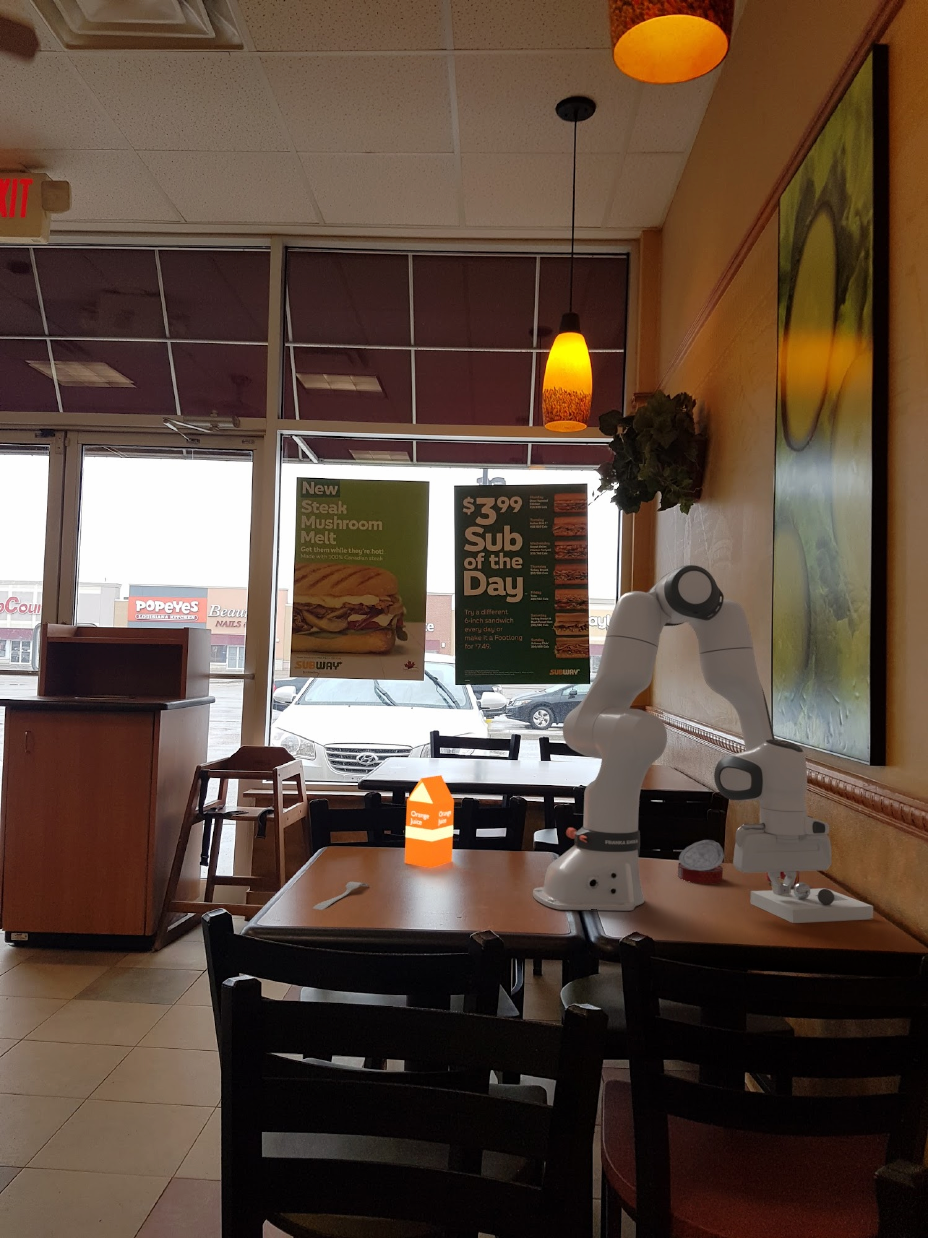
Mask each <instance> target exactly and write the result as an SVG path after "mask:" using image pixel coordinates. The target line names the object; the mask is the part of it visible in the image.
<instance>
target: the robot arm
mask: <svg viewBox="0 0 928 1238" xmlns="http://www.w3.org/2000/svg"><path fill="white" fill-rule="evenodd" d="M613 608H614V609H613V611H612V613H611V617H610V620H609V622H608V627H607V630H606V635H605V639H604V643H603V649H602V651H601V652H602V653H601V657H600V661H599V666H598V667H597V671H596V675H595V676H594V680H593V681H592V684H591V685H590V687H589V689H588V691H587V692H586V694H585V696H584V697H583V699H582V701H581V702H580V703H579V704H578V705H577V706H576V707H575V708H574V709H572V710H571V711H570V712H569V713H568V714H567V715H566V717H565V718H564V721H563V725H562V736H563V739H564V742H565V743H566V745H567V746H568V747H569V748H570V749H571V750H573V751H575V752H576V753H579V754H581V755H582V756H584V757H588V758H595V759H601V763H600V767H599V771H598V774H597V776H596V777H595V779H593V781H591V782H589V783H588V785H586V787H585V790H584V791H583V792H584V793H583V795H584V797H583V798H584V799H583V822H582V823H583V825H582V827H580V828H579V829H578V830H577V829H576V828H574V827H567V829H566V832H565V834H566V836H567V837H568V838H570V839H573V840H574V845H573V846H572V847H570V848H569V849H568V850H566V851H565V852H564V853H563V854H562V855H560V856H559V857H557V858H556V859H555V860H553V861H552V862H550V864H549V865H548V866H547V869H546V872H545V875H544V882H543V886H541V887H535V888H534V889H533V892H532V897H533V899H535V900H536V901H537V902H539V903H541V904H542V905H544V906H546V907H549V908H550V909H556V910H561V911H562V910H563V911H564V910H565V911H566V910H567V911H570V910H571V911H572V910H573V911H592V910H591V909H599V910H598V911H626V912H627V911H633V910H634V909H635V908H636V907H637V906H639V905H642V904H644V902H645V897H644V892H643V890H642V888H643V887H642V884H641V876H640V868H639V867H640V866H639V865H640V864H639V857H640V852H641V851H640V850H641V849H640V847H641V835H640V834H641V831H640V830H639V813H640V812H639V807H640V795H641V789H642V786H643V783H644V780H645V776H646V775H647V773H648V771H649V769H650V768H651V766H652V765H653V764H654V763H655V762H657V760H658V759H659V758H660V757H662V755H663V753H664V752H665V750H666V748H667V747H666V746H667V742H668V733H667V728H666V726H665V724H664V722H663V720H661V718H659V716H657V715H654V714H652V713H650V712H647V711H645V710H642V709H639V708H631V706H632V704H633V702H634V701H635V699H637V697H638V696H639V694H641V693H642V692H644V691H645V690H647V688H648V687H649V686H650V685H651V682H652V680H653V675H654V670H655V665H656V660H657V654H658V651H659V650H658V649H659V645H660V644H659V643H660V638H661V634H662V631H663V628H664V627H673V626H680V625H683V624H685V623H688V625H690V627H691V628H692V629H693V631H694V633H695V635H696V639H697V643H698V652H699V662H700V667H701V668H700V669H701V673H702V675H703V678H704V682H705V683H706V685H707V686H708V688H710V689H711V690H712V691H713V692H714V693H716V694H718V695H719V696H721V697H722V698H724V699H725V700H726V701H728V702H729V703H730V704H731V706H733V708H734V709H735V711H736V712H737V717H738V718H739V719H738V720H739V724H740V729H741V733H742V738H743V742H744V748H745V749H744V750H745V751H741V752H738V753H737V752H736V753H733V754H730V755H726V756H724V757H722V758H721V759H720V760H719V761H718V762H717V764H716V766H715V769H714V773H713V778H714V779H713V780H714V784H715V787H716V789H717V791H718V792H719V793H720V794H721V795H722V796H723V797H724V798H726V799H727V800H730V801H735V802H745V801H755V800H756V801H757V802H758V803H759V823H743V824H742V825H741V826H740V827H738V828H737V829H736V832H735V845H734V850H733V863H732V864H733V867H734V868H735V869H736V870H737V871H739V872H742V873H744V874H750V873H751V874H752V873H754V874H755V873H756V874H757V873H766V872H768V876H769V878H770V880H771V882H772V884H773V893H775V894H777V895H779V894H791V890H792V887H791V885H792V884H793V882H794V880H795V878H796V874H797V871H800V872H806V871H807V872H808V871H809V872H813V871H815V872H816V871H827V870H829V868H831V865H832V843H831V839H830V836H828V834H829V833H830V825H829V823H827V822H825V821H822V820H820V819H816V818H814V817H813V816H811V815H808V814H807V813H808V812H807V811H808V808H807V803H806V793H807V789H808V770H807V760H806V755H805V752H804V750H803V748H802V747H801V746H799V745H797V744H796V743H794V742H790V741H786V740H780V739H776V738H775V735H774V729H773V724H772V721H771V716H770V711H769V707H768V703H767V699H766V695H765V692H764V690H763V686H762V683H761V680H760V677H759V673H758V668H757V663H756V656H755V650H754V645H753V638H752V633H751V630H750V625H749V622H748V618H747V615H746V613H745V610H744V608H743V607H742V605H741V604H740V603H738V602H736V601H735V600H731V599H725V597H724V593H723V592H722V590H721V589H720V588H719V587H718V584H717V582H716V580H715V579H714V577H713V576H712V574H711V573H710V572H709V571H708V570H707V569H706V568H704V567H702V566H699V565H695V564H694V565H693V564H686V565H682V566H681V565H680V566H679V567H676V569H674V570H672V571H670V572H668V573H666V574H665V575H663V576H662V577H661V578H660V579H659V580H658V581H657V582H656V583H655V584H653V585H652V586H651V588H650V589H649V590H648V591H647V592H645V591H641V590H639V591H638V590H633V591H629V592H626V593H624V594H622V595H621V596H620V597H618V600H617V602H616V604H615V606H614V607H613ZM780 872H784V874H785V875H786V877H785V879H784V882H783V883H781V884H780V882H779V880H778V877H780Z"/></svg>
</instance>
